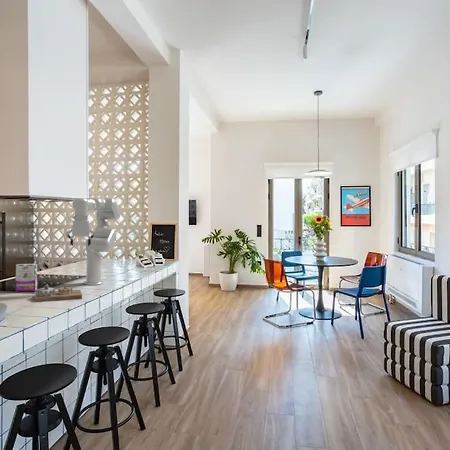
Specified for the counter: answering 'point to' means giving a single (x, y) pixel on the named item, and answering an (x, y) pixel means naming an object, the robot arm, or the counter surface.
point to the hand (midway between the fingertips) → (80, 245)
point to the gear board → (55, 294)
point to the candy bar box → (26, 277)
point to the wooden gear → (64, 291)
